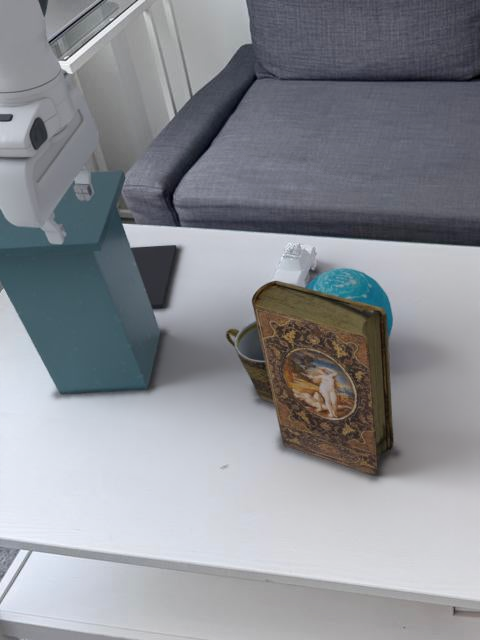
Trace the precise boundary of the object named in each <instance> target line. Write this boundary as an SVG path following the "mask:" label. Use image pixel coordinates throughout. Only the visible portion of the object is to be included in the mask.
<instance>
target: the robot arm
mask: <svg viewBox="0 0 480 640" xmlns="http://www.w3.org/2000/svg"><path fill="white" fill-rule="evenodd" d="M48 4H49V0H0V209H1V210H2V212H3V214H4V216H5V218H6V219H7V220H8V221H9V222H10V223H12V224H13V225H15V226H17V227H30V228H41V229H42V230H43V231H45V234H46V236H47V238H48V241H49V242H50V243H52V244H62V243H63V242H64V240H65V239H66V237H67V233H66V232H65V228H64V226H63V224H57V223H56V222H55V221H54V220H53V219H54V217H55V215H54V212H53V210H54V209H55V207H56V206H57V205H58V203H59V202H60V200H61V199H62V197H63V196H64V194H65V193H66V191H67V190H68V188H69V187H70V185H71V184H72V182H73V181H74V180H75V185H74V187H73V188H74V191H75V193H76V196H77V198H78V199H79V200H80V201H84V200H85V201H89V200H90V199H91V198H92V196H93V195H94V190H93V187H92V184H91V172H92V171H91V170H92V168H91V162H90V157H91V156H92V154H93V153H94V152H95V151H96V149H97V147H98V146H99V144H100V135H99V129H98V127H97V123H96V122H95V118H94V116H93V113H92V111H91V109H90V106H89V103H88V101H87V99H86V96H85V94H84V92H83V91H82V90H81V89H80V88H79V87H77V86H76V85H75V81H74V79H73V76H72V74H70V73H69V72H68V71H67V70H66V69H63V68H62V66H61V64H60V61H59V59H58V57H57V56H56V55H55V53H54V51H53V49H52V47H51V45H50V43H49V40H48V36H47V24H46V18H45V17H46V14H47V9H48V6H49V5H48Z"/></svg>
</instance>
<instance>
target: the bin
mask: <svg viewBox="0 0 480 640" xmlns="http://www.w3.org/2000/svg"><path fill="white" fill-rule="evenodd" d="M122 221H123V220H122V219H121V216H120V214H119V210H118V208H117V206H116V208H115V211H114V214H113V217H112V220H111V223H110V226H109V229H108V232H107V235H106V238H105V241H104V244H103V247H102V250H101V251H90V252H73V253H55V254H38V255H21V256H4V257H0V284H1V286H2V287H3V290H4V291H5V293H6V295H7V297H8V299H9V301H10V302H11V305H12V307H13V308H14V310H15V312H16V314H17V316H18V318H19V319H20V321H21V324H22V325H23V327H24V329H25V331H26V333H27V334H28V337H29V338H30V341H31V342H32V344H33V346H34V348H35V350H36V352H37V353H38V356H39V358H40V360H41V362H42V364H43V365H44V367H45V369H46V371H47V372H48V375H49V376H50V378H51V380H52V382H53V384H54V386H55V388H56V390H57V392H58V393H59V395H73V394H90V393H92V394H93V393H109V392H110V393H111V392H125V391H144V390H148V389H149V385H150V381H151V377H152V372H153V368H154V363H155V359H156V354H157V350H158V346H159V341H160V336H161V329H160V327H159V325H158V324H159V323H158V321H157V318H156V316H155V312H154V310H153V309H154V308H152V307H151V304H150V301H149V298H148V295H147V292H146V290H145V287H144V284H143V281H142V278H141V275H140V272H139V270H138V267H137V264H136V261H135V258H134V255H133V253H132V250H131V248H132V247H131V244H130V242H129V239H128V236H127V233H126V230H125V227H124V224H123V222H122Z"/></svg>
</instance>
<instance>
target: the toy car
mask: <svg viewBox="0 0 480 640" xmlns="http://www.w3.org/2000/svg"><path fill="white" fill-rule="evenodd" d="M317 255H318V252H317V251H316V247H315V246H314V245H308V244H301V243H299V242H294V241H291V242H290V243H287V245H286V246H285V248H284V251H283V253H282V255H281V257H280V260H279V263H278V266H274V269H275V270H276V271H275V273H274V275H273V277H272V278H271V281H270V282H272V281H280V282H284V283H288V284H292V285H295V286H299V287H303V288H306V286H307V285H308V284H309V281H310V278H311V277H310V272H309V271H310V270H311V271H315V270H316V267H317V265H318V262H317V259H316V258H315V257H317Z"/></svg>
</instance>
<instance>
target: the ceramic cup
mask: <svg viewBox="0 0 480 640" xmlns="http://www.w3.org/2000/svg"><path fill="white" fill-rule="evenodd" d="M230 335H231V336H233V337H234V340H233V338H232V337H231V336H230ZM225 337H226V340H227V341H228V342H229V343H230V345H231V346H233V347H234V350H235V351H236V354H237V356H238V358H239V361H240V363H241V364H242V367H243V368H244V370H245V372H246V373H247V375H248V376H249V378H250V379H249V380H250V381H251V383H252V385H253V387H254V389H255V391H256V393H257V395H258V397H259V398H260V400H262V401H264V402H268V403H270V404H273V405H274V400H273V396H272V391H271V387H270V382H269V378H268V373H267V369H266V364H265V359H264V355H263V350H262V346H261V341H260V337H259V332H258V327H257V323H256V320H255V321H252V322H250V323H248V324H246V325H245V326H243V327H242V328H241V329H240V330H239V329H236V328H230V329H228V330H227V331H226V332H225Z"/></svg>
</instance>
